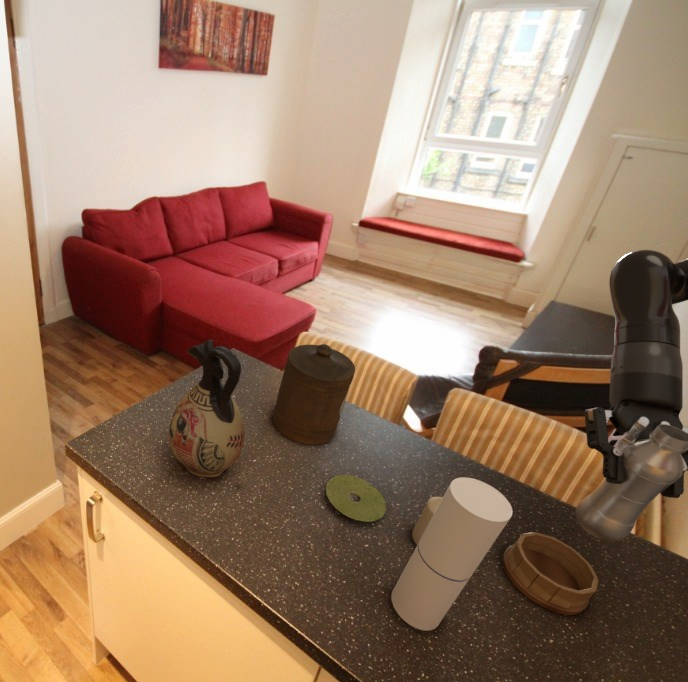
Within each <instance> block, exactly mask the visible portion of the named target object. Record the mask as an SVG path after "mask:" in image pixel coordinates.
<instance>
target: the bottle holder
mask: <svg viewBox="0 0 688 682" xmlns="http://www.w3.org/2000/svg"><path fill="white" fill-rule="evenodd" d="M501 565H502V568H503V570H504V573H505V574H506V576H507V578H508V579H509V581H510V582H511V583H512V584H513V585H514V586H515V588H516V589H517V590H518V591H519V592H520V593H522V594H523V595H524V597H527V598H528V599H529V600H530V601H532V602H534V603H535V604H536V605H538V606H540V607H542V608H544V609H546V610H548V611H550V612H553V613H555V614H560V615H566V616H574V615H579V614H581V613H583V612H584V611H585V610H586V608H588V606H589V603H590V598H591V597H592V596H593V595H594V594H595V593H596V591H597V589H598V585H599V581H600V580H599V578H598V576H597V574H596V572H595V569H594V568H593V567H592V564H590V562H589V561H588V560H587V559H585V558H584V557H583V555H581V554H580V553H579V552H578V551H577V549H573V547H572V546H570V545H569V544H566V543H565V542H563V541H561V540H560V539H558V538H557V537H553V536H552V535H549V534H544V533H540V532H536V531H535V532H534V531H532V532H527V533H522V534H520V536H519V537H518V539H517V540H516V541H515V543H514V544H512V545H510V546H508V547H507V548H506V549H505V551H504V552H503V553H502V556H501Z"/></svg>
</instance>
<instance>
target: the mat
mask: <svg viewBox="0 0 688 682" xmlns="http://www.w3.org/2000/svg"><path fill="white" fill-rule="evenodd" d="M325 494H326V496H327V499H328V500H329V502H330V503H331V505H332V506H333V507H334V508H335V509H336V510H337V511H338V512H340V513H341V514H342V515H344V516H346V517H347V518H350V519H353V520H356V521H359V522H368V523H369V522H371V523H372V522H375V521H377V520H378V521H379V520H380V519H382V518H383V517H384V516H385V514H386V511H387V504H386V499H385V498H384V497H383V495H382V493H381V492H380V491H379V490H378V489H377V488H376V487H375V486H374V485H372V484H371V483H369V482H368V481H367V480H365V479H363V478H360V477H357V476H354V475H350V474H349V475H348V474H339V475H335V476H333V477H331V478H330V479H329V480H328V481H327V483H326V486H325Z"/></svg>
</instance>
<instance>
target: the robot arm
mask: <svg viewBox="0 0 688 682" xmlns="http://www.w3.org/2000/svg"><path fill="white" fill-rule="evenodd" d="M608 281H609V282H608V286H609V287H608V288H609V293H610V295H609V296H610V299H611V300H610V301H611V305H612V311H613V315H614V321H615V323H614V324H615V326H614V333H613V334H614V336H613V350H612V351H613V352H612V355H611V360H610V369H609V370H610V373H609V374H610V375H609V397H608V403H609V404H610V407H609V409H605V408H603V407H601V406H599V407H594V408H588V409H585V410H584V422H585V432H586V433H585V434H586V444H587V447H588V448H589V449H591V450H596V451H597V452H599V453H600V454H601V455H602V457H603V458H602V476H603V478H604V479H605V478H606V481H607V482H608V483H613V484H622V483H623V470H624V465H623V464H624V461H623V458H622V457H620V456H621V455H623V453H624V451H625V449H626V448H627V446H628V445H631V444H633V443H634V442H635V441H638V440H642V439H648V438H650V437H649V434H650V433H651V432H652V431H654V430H655V429H656V427H657V426H658V425H660V424H666V425H670V426H674V427H676V428H679V429H681V430H683V431H685V432H686V433H688V426H685V425H683V423H682V421H681V419H680V413H681V411H682V409H683V401H684V400H683V391H684V389H683V387H684V385H683V384H684V383H683V377H684V376H683V373H684V372H683V370H684V367H683V359H682V355H681V324H680V320H679V317H678V316H677V314H676V312H675V310H674V308H673V305H676V304H680V303H683V302H686V301H688V258H686V259H683V260H681V261H680V260H679V261H678V262H674V261H673V260H672V259H671V258H669V256H667V255H666V254H664V253H663V252H660V251H657V250H653V249H639V250H635V251H631V252H629V253H626V254H624V255H623V256H622V257H621V258H619V259H618V260H617V261H616V263H614V265H613V267H612V269H611V270H610V274H609V280H608ZM609 422H610V423H611V424H612V427H613V428H614V429H613V430H612V432H611V433H610V435H609V434H608V433H609V432H608V426H607V423H609ZM681 456H682V460H683V466H684V470H683V473H682V476H681V477H680V478H679V479H678V480H677V481H676V482H674V483H673V484H672V485H670V486H669V487H668V488H666V489H665V490H664V491H662V492H661V493H660V495H661V496H662V497H664V498H670V499H678V498H680V497H681V496H682V495H683V494H684V492H685V488H684V487H685V485H684V484H685V473H686V472H687V471H688V449H687V451H686V452H684V453H681Z"/></svg>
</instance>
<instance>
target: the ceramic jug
mask: <svg viewBox="0 0 688 682" xmlns="http://www.w3.org/2000/svg"><path fill="white" fill-rule="evenodd" d="M186 352H187V354H189V355H190V356H192V357H193V358H195V360H197V362H198V363H199V364H200V365H201V366H202V377H201V379H200V380H199V381H198V383H197V384H196V385H194V386H193V387H192V388H191V389H190V390H189V391H188V392H187V393H186V395H184V396H183V397H182V399H181V400H180V401H179V402H178V404H177V405H176V407H175V409H174V412H173V414H172V416H171V420H170V423H169V427H168V443H169V447H170V450H171V452H172V455H173V456H174V457H175V459H176V460H177V461H178V462H179V463H180V464H182V465H183V466H184V467H185V469H186V470H187V471H188V472H190V474H192V475H194V476H197V477H201V478H216V477H220V476H222V474H223V473H224V471H225V470H227V469H229V468H230V467H231V466H233V465H234V463H235V462H236V461H237V460H238V458H239V457H240V456H241V453H242V452H243V448H244V444H245V435H246V434H245V433H246V432H245V425H244V421H243V416H242V413H241V411H240V408H239V406H238V405H237V402H236V401H235V399H234V397H233V396H232V395H233V393H234V391H235V389H236V388H237V386H238V385H239V382H240V379H241V373H242V364H241V361H240V360H239V358H238V356H237V355H236V354H235V353H234V352H232V350H231V349H230V348H229V347H227V346H224V345H218V346H215V347H214V340H213V339H209V340H206V341H205V342H203V343H200V344H198V345H197V344H195V345H193V346H191V347H189V348H188V349H186ZM221 361H222V362H223V364H224V365H225V366H226V368H227V379H226V381H225V382H224V384H223V383H222V380H223V379H224V376H225V375H224V373H225V372H224V366H223V364H222V362H221Z"/></svg>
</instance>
